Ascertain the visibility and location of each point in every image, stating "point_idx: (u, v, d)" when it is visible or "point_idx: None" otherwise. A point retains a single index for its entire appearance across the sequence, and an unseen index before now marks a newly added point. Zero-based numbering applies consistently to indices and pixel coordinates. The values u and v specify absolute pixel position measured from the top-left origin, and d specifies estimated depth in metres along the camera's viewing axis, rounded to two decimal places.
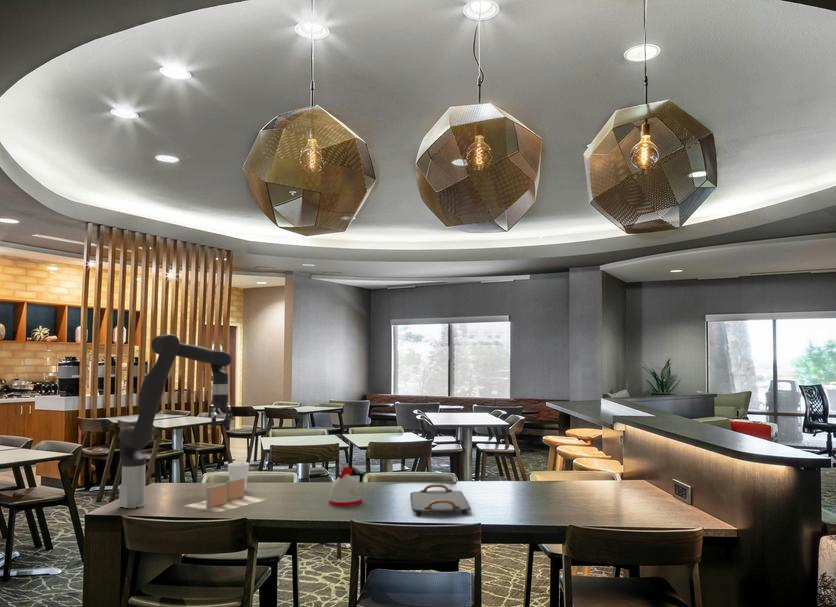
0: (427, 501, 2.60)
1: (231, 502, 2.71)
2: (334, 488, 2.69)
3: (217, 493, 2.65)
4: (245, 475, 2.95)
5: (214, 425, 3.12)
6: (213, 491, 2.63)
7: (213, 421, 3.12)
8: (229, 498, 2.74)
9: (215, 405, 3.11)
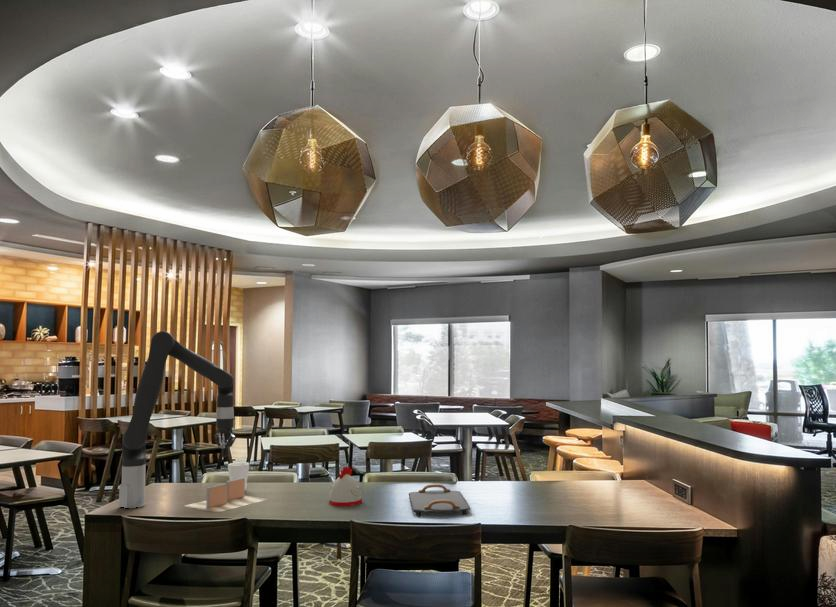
0: (426, 501, 2.60)
1: (231, 502, 2.71)
2: (334, 488, 2.69)
3: (217, 493, 2.65)
4: (245, 475, 2.95)
5: None
6: (213, 491, 2.63)
7: None
8: (229, 498, 2.74)
9: (219, 430, 2.85)
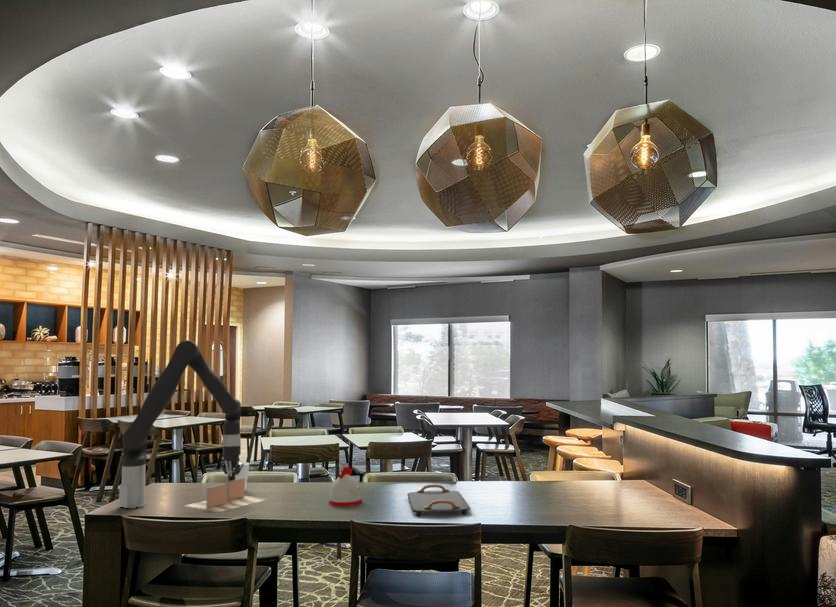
0: (426, 501, 2.60)
1: (231, 502, 2.71)
2: (334, 488, 2.69)
3: (217, 493, 2.65)
4: (245, 475, 2.95)
5: None
6: (213, 491, 2.63)
7: None
8: (229, 498, 2.74)
9: (226, 457, 2.82)
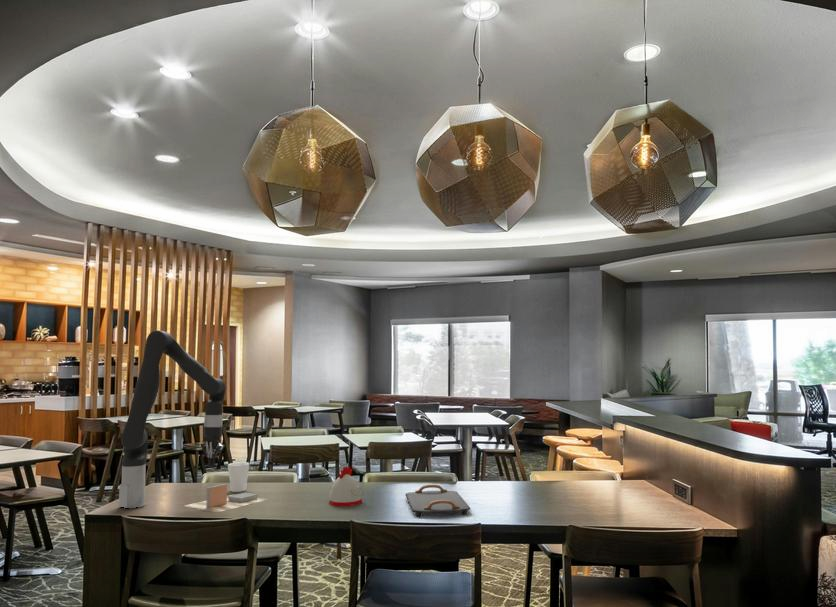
0: (425, 502, 2.59)
1: (231, 502, 2.71)
2: (334, 488, 2.69)
3: (217, 493, 2.65)
4: (245, 475, 2.95)
5: None
6: (213, 491, 2.63)
7: None
8: (230, 500, 2.74)
9: (207, 439, 2.73)
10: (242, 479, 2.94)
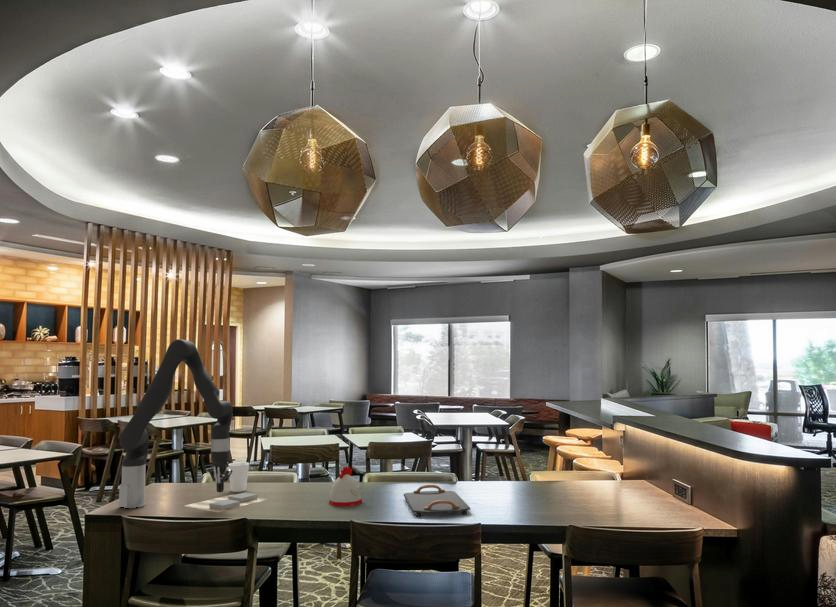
0: (424, 502, 2.59)
1: None
2: (334, 488, 2.69)
3: None
4: (245, 475, 2.95)
5: None
6: None
7: None
8: None
9: (214, 463, 2.66)
10: (242, 479, 2.94)
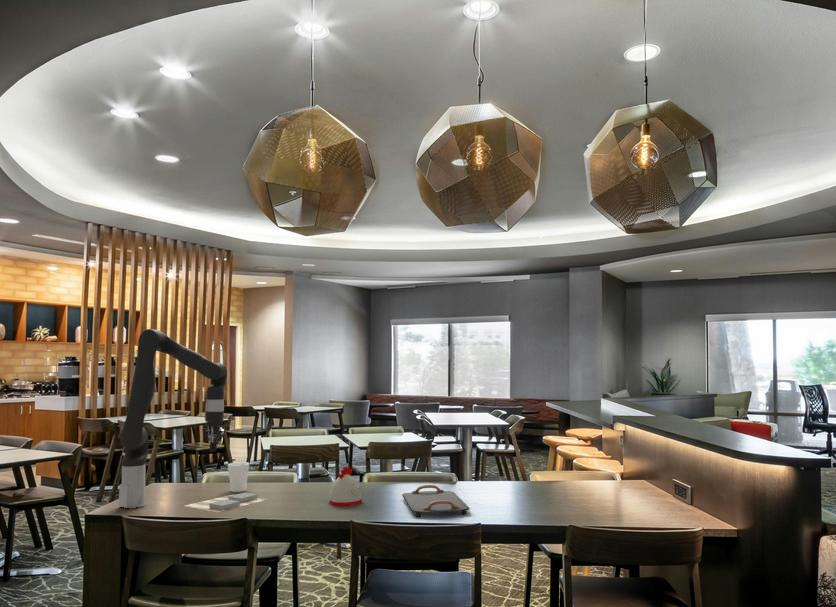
0: (423, 502, 2.59)
1: None
2: (334, 488, 2.69)
3: None
4: (245, 475, 2.95)
5: None
6: None
7: None
8: None
9: (208, 423, 2.72)
10: (242, 479, 2.94)
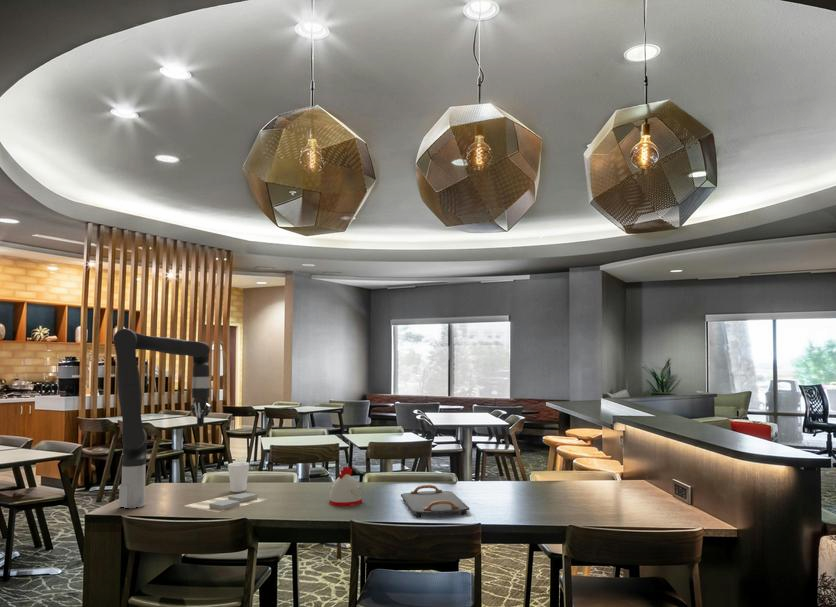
0: (423, 502, 2.58)
1: None
2: (334, 488, 2.69)
3: None
4: (245, 475, 2.95)
5: None
6: None
7: None
8: None
9: (195, 400, 2.85)
10: (242, 479, 2.94)
